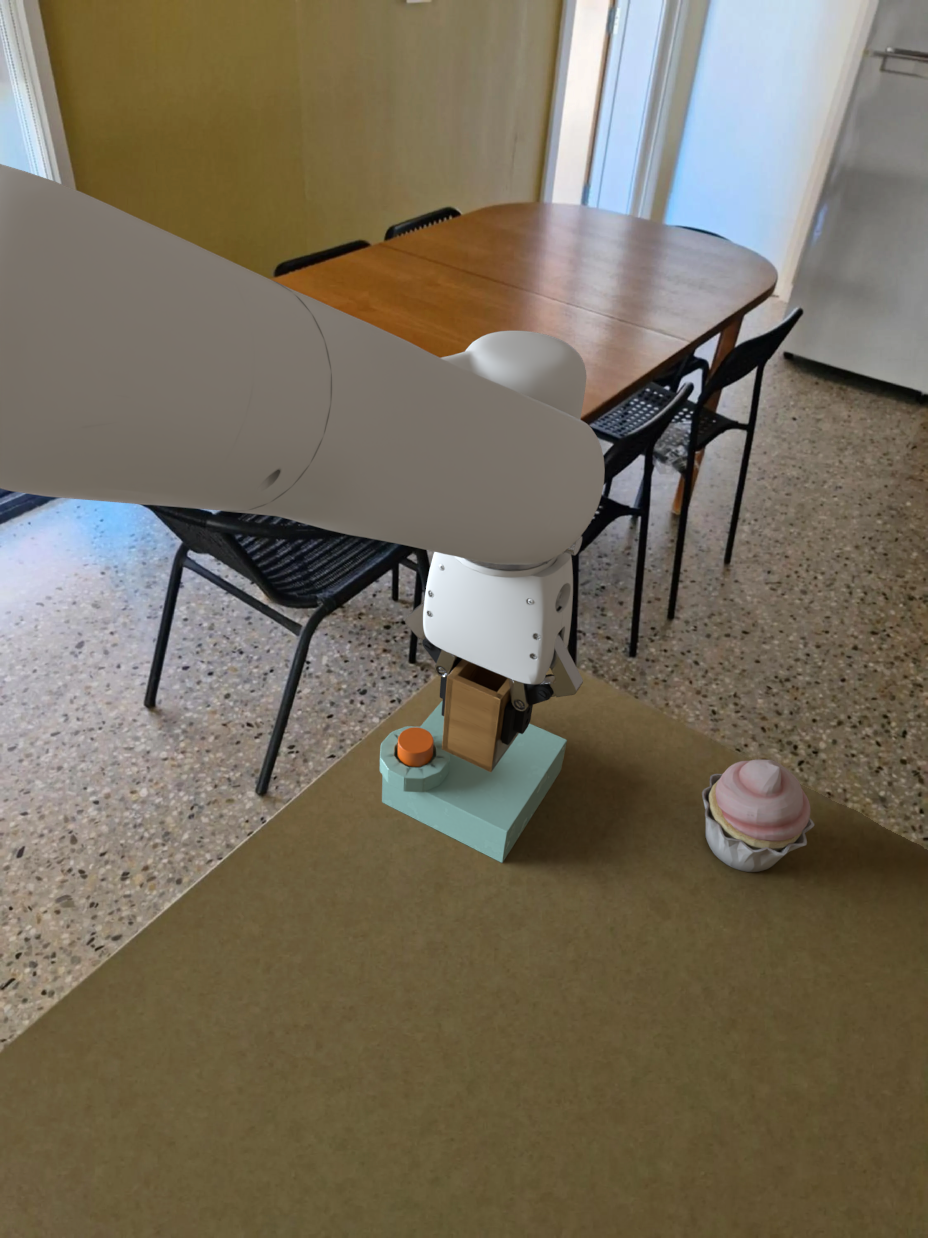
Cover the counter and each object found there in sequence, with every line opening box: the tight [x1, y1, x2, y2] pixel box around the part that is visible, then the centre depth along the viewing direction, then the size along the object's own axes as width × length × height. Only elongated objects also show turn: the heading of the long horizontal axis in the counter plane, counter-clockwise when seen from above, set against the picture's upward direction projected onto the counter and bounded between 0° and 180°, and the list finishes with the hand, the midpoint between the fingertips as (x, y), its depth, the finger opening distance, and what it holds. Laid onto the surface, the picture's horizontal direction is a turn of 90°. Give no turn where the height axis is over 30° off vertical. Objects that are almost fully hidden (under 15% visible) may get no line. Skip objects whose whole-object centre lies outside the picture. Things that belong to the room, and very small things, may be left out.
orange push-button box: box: [379, 701, 568, 864], centre depth 78 cm, size 13×13×6 cm
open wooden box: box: [442, 659, 519, 772], centre depth 69 cm, size 5×4×8 cm
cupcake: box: [701, 758, 815, 873], centre depth 74 cm, size 9×9×10 cm
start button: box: [397, 726, 434, 767], centre depth 75 cm, size 3×3×2 cm
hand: (483, 717), depth 70 cm, fingers closed on open wooden box, 4 cm apart
